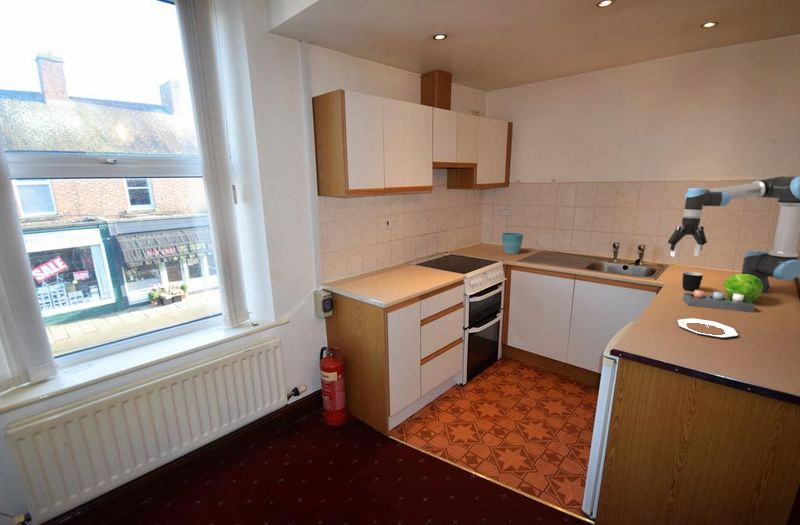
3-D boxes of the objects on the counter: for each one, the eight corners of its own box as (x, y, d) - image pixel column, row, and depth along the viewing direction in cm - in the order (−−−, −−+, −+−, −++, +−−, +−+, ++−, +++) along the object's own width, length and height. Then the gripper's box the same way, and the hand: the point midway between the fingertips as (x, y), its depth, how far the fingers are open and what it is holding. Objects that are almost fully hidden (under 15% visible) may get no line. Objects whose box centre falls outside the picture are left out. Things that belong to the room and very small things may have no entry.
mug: (701, 293, 210) (704, 276, 208) (682, 291, 214) (685, 274, 212) (696, 287, 220) (699, 271, 218) (678, 285, 224) (681, 269, 222)
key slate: (720, 299, 190) (722, 292, 189) (723, 301, 186) (725, 294, 185) (711, 298, 192) (712, 291, 191) (713, 300, 188) (715, 293, 187)
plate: (741, 343, 148) (741, 340, 147) (680, 333, 158) (680, 330, 157) (730, 327, 164) (731, 323, 163) (675, 318, 174) (676, 315, 174)
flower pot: (501, 254, 318) (502, 235, 315) (499, 250, 336) (500, 232, 332) (523, 255, 316) (524, 235, 312) (520, 251, 333) (521, 232, 329)
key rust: (701, 297, 193) (702, 290, 192) (704, 299, 190) (705, 292, 189) (692, 296, 195) (693, 289, 194) (694, 298, 191) (695, 291, 190)
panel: (744, 305, 189) (745, 298, 188) (753, 312, 180) (754, 304, 179) (682, 299, 199) (683, 292, 198) (688, 305, 190) (689, 298, 189)
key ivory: (740, 301, 187) (742, 293, 186) (743, 303, 183) (745, 296, 182) (730, 300, 188) (731, 292, 187) (733, 302, 185) (735, 295, 184)
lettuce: (713, 290, 212) (748, 297, 205) (725, 301, 192) (764, 310, 185) (723, 266, 207) (759, 272, 201) (735, 275, 188) (776, 283, 181)
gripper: (707, 216, 200) (700, 254, 205) (664, 216, 199) (657, 255, 203) (720, 218, 193) (712, 257, 198) (675, 218, 191) (668, 258, 196)
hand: (684, 256), depth 201 cm, fingers open, 13 cm apart
